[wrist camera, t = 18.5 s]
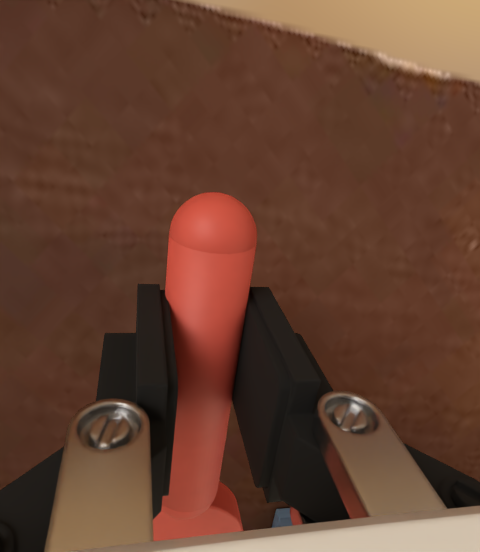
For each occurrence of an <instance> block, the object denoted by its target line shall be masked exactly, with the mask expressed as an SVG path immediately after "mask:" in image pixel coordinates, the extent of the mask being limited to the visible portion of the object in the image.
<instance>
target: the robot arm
mask: <svg viewBox="0 0 480 552" xmlns="http://www.w3.org/2000/svg"><path fill="white" fill-rule="evenodd" d="M177 400H178V374H177V366H176V358H175V349H174V341H173V332H172V324H171V315H170V307H169V301H168V300H167V298H166V296H165V290H160V286H159V284H138V294H137V321H136V333H105V335H104V342H103V350H102V358H101V366H100V373H99V381H98V389H97V397H96V402H93V403H90V404H88V405H86V406H85V407H83V408H81V409H80V410H78V412H77V413H76V414H75V415H74V416H73V417H72V418H71V421H70V423H69V425H68V428H67V434H66V439H65V444H64V447H63V448H61V449H60V450H58V451H57V452H55V453H54V454H52V455H51V456H50V457H48V458H47V459H45V460H44V461H42V462H41V463H39V464H38V465H37V466H35V467H34V468H32V469H31V470H29V471H28V472H26V473H25V474H23V475H22V476H21V477H19V478H18V479H16V480H15V481H13V482H12V483H10V484H9V485H8V486H6V487H5V488H3V489H2V490H0V552H480V482H478V481H477V480H475V479H473V478H471V477H469V476H467V475H465V474H463V473H461V472H459V471H457V470H455V469H454V468H452V467H450V466H448V465H446V464H444V463H442V462H440V461H438V460H436V459H434V458H432V457H430V456H428V455H426V454H424V453H422V452H420V451H418V450H416V449H414V448H412V447H410V446H408V445H406V444H404V443H403V442H402V441H401V439H400V438H399V436H398V435H397V434H396V432H395V431H394V429H393V428H392V426H391V425H390V423H389V422H388V420H387V419H386V417H385V416H384V414H383V413H382V412H381V410H380V409H379V408H378V407H377V406H376V405H375V404H374V403H372V402H371V401H369V400H368V399H366V398H364V397H362V396H360V395H358V394H355V393H351V392H348V391H333V390H332V388H331V386H330V384H329V383H328V381H327V379H326V377H325V376H324V374H323V372H322V371H321V369H320V367H319V365H318V364H317V362H316V360H315V358H314V357H313V355H312V353H311V352H310V350H309V348H308V346H307V345H306V343H305V341H304V339H303V338H302V336H301V335H300V334H297V333H294V331H293V330H292V328H291V326H290V324H289V322H288V321H287V319H286V317H285V315H284V314H283V312H282V310H281V308H280V306H279V305H278V303H277V301H276V299H275V297H274V296H273V294H272V292H271V290H270V289H269V287H250V289H249V295H248V301H247V307H246V313H245V319H244V326H243V332H242V338H241V345H240V351H239V357H238V364H237V370H236V376H235V383H234V389H233V395H232V401H233V405H234V409H235V412H236V416H237V420H238V424H239V427H240V431H241V435H242V439H243V442H244V446H245V450H246V453H247V457H248V461H249V465H250V468H251V472H252V476H253V480H254V483H255V486H256V487H257V488H261V487H263V490H264V494H265V497H266V501H267V503H269V502H279V501H284V502H285V503H287V504H288V505H290V506H291V507H290V516H291V521H292V524H293V526H284V527H275V528H266V529H257V530H248V531H239V532H230V533H221V534H213V535H204V536H196V537H187V538H178V539H170V540H161V541H154V539H153V519H154V518H155V517H156V516H157V515H158V514H159V513H160V512H161V509H162V497H163V496H168V495H169V487H170V476H171V465H172V454H173V443H174V432H175V422H176V411H177Z"/></svg>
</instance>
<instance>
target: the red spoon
mask: <svg viewBox="0 0 480 552" xmlns="http://www.w3.org/2000/svg"><path fill="white" fill-rule="evenodd" d="M256 244H257V230H256V225H255V222H254V220H253V217H252V215H251V213H250V212H249V210H248V209H247V208H246V207H245V206H244V205H243V204H242V203H241V202H240V201H238V200H237V199H235V198H234V197H232V196H230V195H227V194H223V193H218V192H208V193H203V194H199V195H196V196H194V197H192V198H191V199H189V200H187V201H186V202H185V203H184V204H183V205H182V206H181V207H180V208H179V209H178V211H177V212H176V214H175V215H174V217H173V220H172V222H171V226H170V232H169V244H168V259H167V274H166V288H165V296H166V298H167V300H168V301H169V307H170V315H171V324H172V332H173V341H174V349H175V358H176V366H177V374H178V400H177V411H176V422H175V432H174V443H173V454H172V465H171V476H170V487H169V495H168V496H163V497H162V509H161V512H160V513H159V514H158V515H157V516H156V517H155V518H154V519H153V539H154V541H161V540H170V539H178V538H187V537H196V536H204V535H213V534H221V533H230V532H239V531H243V527H242V522H241V518H240V513H239V509H238V504H237V501H236V498H235V496H234V494H233V493H232V492H231V490H230V489H229V488H228V487H227V486H226V485H224V484H223V483H221V482H219V478H220V472H221V466H222V459H223V453H224V447H225V440H226V434H227V428H228V421H229V415H230V409H231V402H232V395H233V389H234V383H235V376H236V370H237V364H238V357H239V351H240V345H241V338H242V332H243V326H244V319H245V313H246V307H247V301H248V295H249V289H250V282H251V276H252V270H253V263H254V257H255V251H256Z"/></svg>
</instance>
